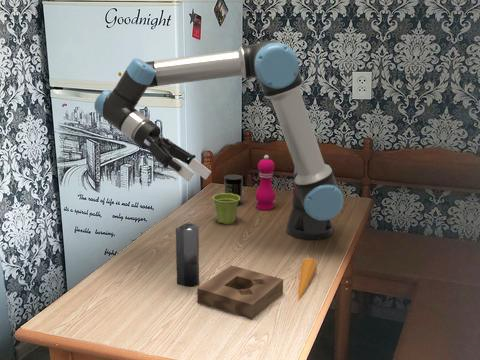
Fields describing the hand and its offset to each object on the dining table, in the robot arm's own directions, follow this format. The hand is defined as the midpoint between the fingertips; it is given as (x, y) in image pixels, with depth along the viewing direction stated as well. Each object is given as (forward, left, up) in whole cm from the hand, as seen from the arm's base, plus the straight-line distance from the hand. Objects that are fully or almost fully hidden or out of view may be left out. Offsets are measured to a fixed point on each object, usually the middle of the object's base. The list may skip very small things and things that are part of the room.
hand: (200, 176), depth 161 cm
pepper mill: (-28, -49, -28) cm, 63 cm away
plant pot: (-12, -37, -28) cm, 48 cm away
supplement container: (-17, -55, -28) cm, 64 cm away
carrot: (-26, +13, -28) cm, 41 cm away
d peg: (+4, +8, -27) cm, 29 cm away
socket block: (-9, +18, -27) cm, 34 cm away
